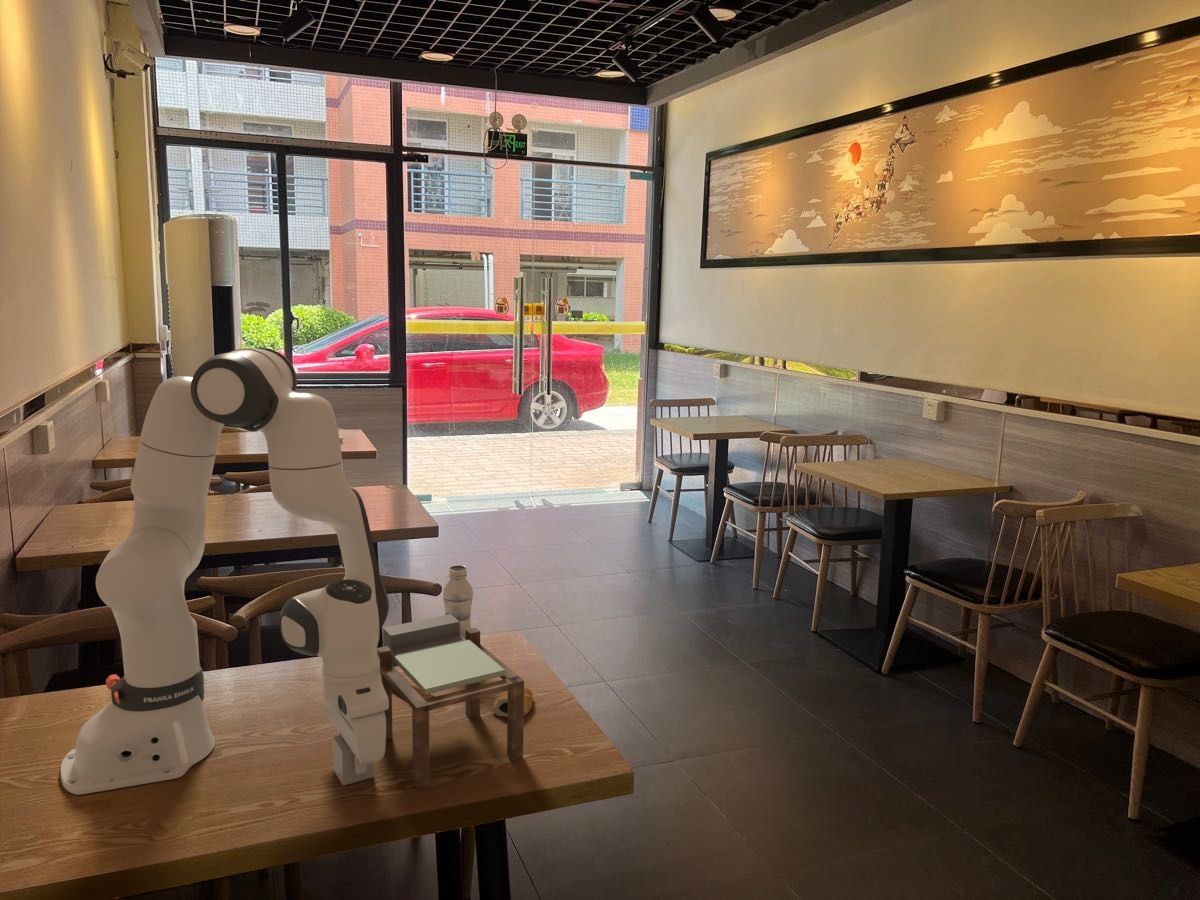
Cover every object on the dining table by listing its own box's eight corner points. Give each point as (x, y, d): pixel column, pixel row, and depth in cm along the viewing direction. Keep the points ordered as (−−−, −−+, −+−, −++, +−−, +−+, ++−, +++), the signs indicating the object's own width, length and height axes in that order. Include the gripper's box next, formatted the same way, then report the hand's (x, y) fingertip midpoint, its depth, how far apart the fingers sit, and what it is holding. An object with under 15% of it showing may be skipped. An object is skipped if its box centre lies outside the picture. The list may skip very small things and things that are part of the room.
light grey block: (342, 785, 137) (342, 751, 136) (333, 770, 141) (332, 736, 140) (373, 776, 140) (373, 742, 138) (363, 762, 144) (363, 729, 142)
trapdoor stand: (417, 789, 136) (416, 692, 133) (377, 736, 152) (375, 648, 149) (522, 757, 147) (524, 666, 143) (475, 710, 162) (475, 627, 159)
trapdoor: (425, 709, 137) (425, 674, 136) (380, 659, 155) (380, 628, 153) (504, 689, 145) (504, 655, 144) (453, 643, 162) (453, 613, 161)
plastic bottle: (472, 650, 188) (472, 562, 184) (474, 663, 182) (474, 572, 178) (442, 651, 187) (441, 563, 183) (443, 665, 180) (442, 574, 176)
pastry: (508, 693, 169) (508, 675, 169) (540, 699, 168) (541, 680, 167) (490, 716, 160) (490, 697, 160) (524, 722, 159) (524, 703, 158)
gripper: (313, 661, 144) (316, 737, 147) (351, 714, 127) (353, 799, 130) (351, 653, 147) (352, 728, 150) (393, 704, 131) (394, 787, 133)
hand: (353, 761), depth 140 cm, fingers closed on light grey block, 5 cm apart
